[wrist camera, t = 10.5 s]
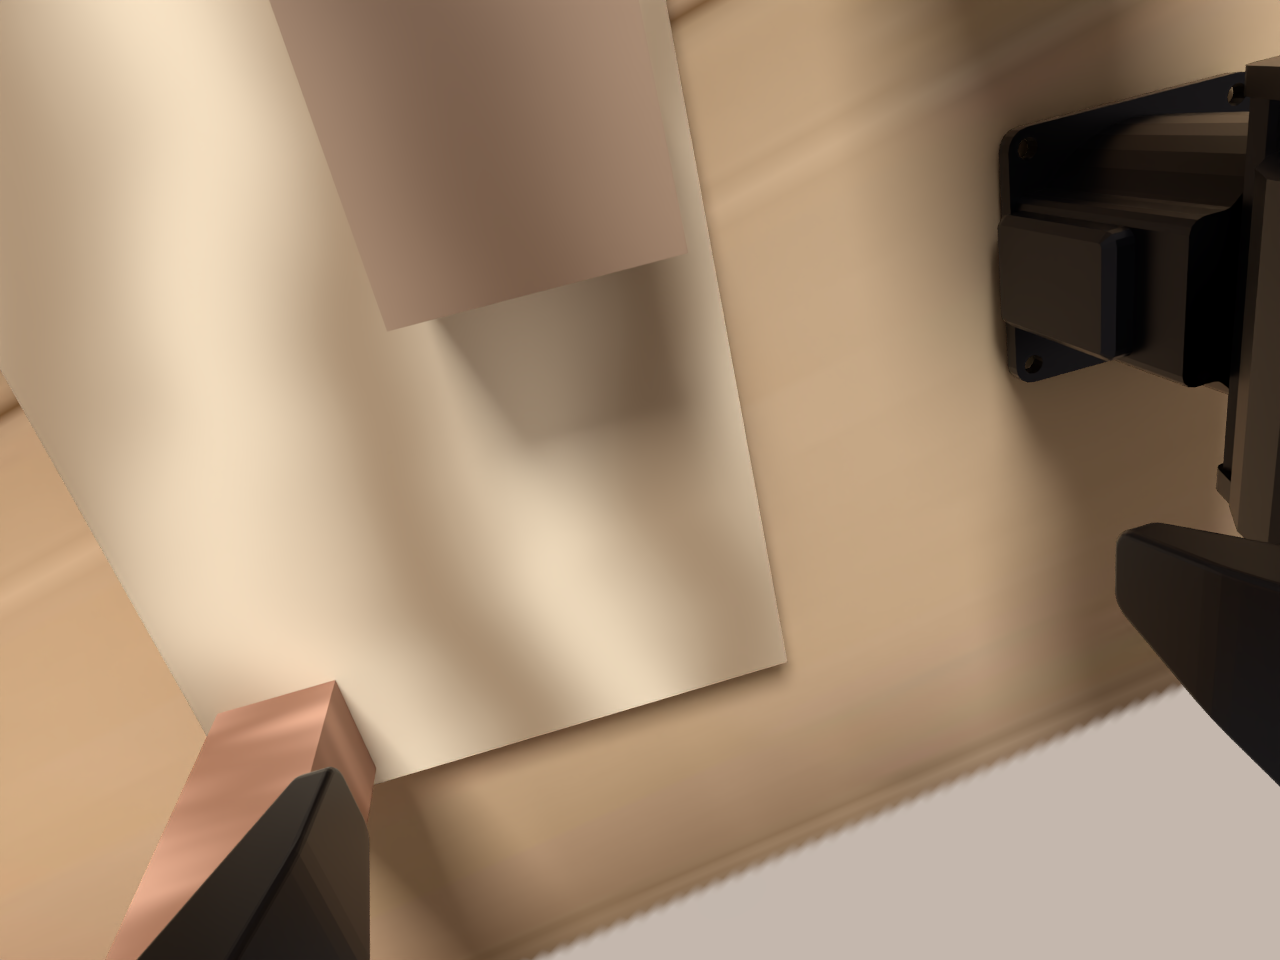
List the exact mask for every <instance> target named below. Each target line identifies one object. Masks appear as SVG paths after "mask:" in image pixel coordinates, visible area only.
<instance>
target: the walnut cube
mask: <svg viewBox="0 0 1280 960" xmlns="http://www.w3.org/2000/svg"><path fill="white" fill-rule="evenodd" d="M269 1H270V4H271V7H272V10H273V12H274V15H275V18H276V21H277V24H278V26H279V29H280V32H281V35H282V38H283V40H284V43H285V46H286V49H287V52H288V54H289V57H290V60H291V63H292V66H293V69H294V71H295V74H296V77H297V80H298V83H299V85H300V88H301V91H302V94H303V97H304V99H305V102H306V105H307V108H308V111H309V113H310V116H311V119H312V122H313V125H314V127H315V130H316V133H317V136H318V139H319V142H320V144H321V147H322V150H323V153H324V156H325V158H326V161H327V164H328V167H329V170H330V172H331V175H332V178H333V181H334V184H335V186H336V189H337V192H338V195H339V198H340V200H341V203H342V206H343V209H344V212H345V215H346V217H347V220H348V223H349V226H350V229H351V231H352V234H353V237H354V240H355V243H356V245H357V248H358V251H359V254H360V257H361V259H362V262H363V265H364V268H365V271H366V273H367V276H368V279H369V282H370V285H371V288H372V290H373V293H374V296H375V299H376V302H377V304H378V307H379V310H380V313H381V316H382V318H383V321H384V324H385V327H386V330H387V332H388V331H391V330H395V329H399V328H403V327H407V326H411V325H414V324H418V323H422V322H426V321H430V320H434V319H437V318H441V317H445V316H449V315H453V314H457V313H460V312H464V311H468V310H472V309H476V308H480V307H483V306H487V305H491V304H495V303H499V302H503V301H506V300H510V299H514V298H518V297H522V296H526V295H530V294H533V293H537V292H541V291H545V290H549V289H553V288H556V287H560V286H564V285H568V284H572V283H576V282H579V281H583V280H587V279H591V278H595V277H599V276H602V275H606V274H610V273H614V272H618V271H622V270H625V269H629V268H633V267H637V266H641V265H645V264H648V263H652V262H656V261H660V260H664V259H668V258H671V257H675V256H679V255H683V254H687V253H688V249H687V244H686V239H685V234H684V229H683V224H682V218H681V213H680V208H679V203H678V198H677V193H676V188H675V183H674V178H673V172H672V167H671V162H670V157H669V152H668V147H667V142H666V137H665V131H664V126H663V121H662V116H661V111H660V106H659V101H658V96H657V91H656V85H655V80H654V75H653V70H652V65H651V60H650V55H649V50H648V45H647V39H646V34H645V29H644V24H643V19H642V14H641V9H640V4H639V0H269Z"/></svg>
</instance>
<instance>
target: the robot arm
mask: <svg viewBox="0 0 1280 960" xmlns="http://www.w3.org/2000/svg"><path fill="white" fill-rule="evenodd" d="M1231 87H1233V96H1232V99H1231V100H1230V101H1229V103H1228V98H1227V96H1228V92H1229V90H1230V89H1231ZM1023 139H1025V140H1027V144H1028V148H1027V152H1026V153H1025V155H1024V156H1023V157H1022V158H1020V157H1019V154H1018V147H1019V144H1020V143H1021V141H1022V140H1023ZM999 165H1000V189H1001V213H1002V220H1001V222H1000V224H999V225H998V249H999V272H1000V294H1001V316H1002V319H1003V320H1005V321H1006V333H1007V356H1008V368H1009V372H1010V373H1011V374H1012V375H1013V376H1014V377H1016V378H1018V379H1021V380H1023V381H1026V382H1035V381H1039V380H1042V379H1046V378H1050V377H1053V376H1057V375H1060V374H1064V373H1068V372H1071V371H1075V370H1078V369H1082V368H1085V367H1089V366H1093V365H1096V364H1100V363H1103V362H1107V361H1111V360H1116V361H1118V362H1121V363H1124V364H1127V365H1129V366H1132V367H1135V368H1137V369H1140V370H1143V371H1146V372H1148V373H1151V374H1154V375H1157V376H1159V377H1162V378H1165V379H1167V380H1170V381H1173V382H1176V383H1178V384H1181V385H1184V386H1187V387H1198V386H1201V385H1203V386H1206V387H1209V388H1211V389H1214V390H1217V391H1220V392H1223V393H1225V394H1228V408H1227V421H1226V435H1225V449H1224V462H1223V463H1222V464H1220V465H1219V466H1218V469H1217V483H1216V489H1217V491H1218V492H1219V493H1220V494H1221V495H1222V496H1223V498H1224V499H1225V500H1226V501H1227V502H1228V503H1229V507H1230V510H1231V514H1232V517H1233V520H1234V523H1235V526H1236V529H1237V532H1239V533H1240V534H1241V535H1242V536H1243V537H1244V538H1240V537H1235V536H1229V535H1224V534H1218V533H1213V532H1207V531H1202V530H1196V529H1191V528H1186V527H1180V526H1175V525H1169V524H1164V523H1150V524H1146V525H1143V526H1140V527H1136V528H1133V529H1130V530H1126V531H1124V532H1123V533H1121V534H1120V535H1119V537H1118V539H1117V541H1116V564H1115V595H1116V599H1117V602H1118V605H1119V607H1120V609H1121V611H1122V612H1123V614H1124V615H1125V617H1126V618H1127V619H1128V620H1129V621H1130V623H1131V624H1132V625H1133V626H1134V627H1135V629H1136V630H1137V631H1138V632H1139V633H1140V634H1141V636H1142V637H1143V638H1144V639H1145V640H1146V642H1147V643H1148V644H1149V645H1150V646H1151V648H1152V649H1153V650H1154V651H1155V652H1156V654H1157V655H1158V656H1159V657H1160V658H1161V660H1162V661H1163V662H1164V663H1165V664H1166V666H1167V667H1168V668H1169V669H1170V670H1171V672H1172V673H1173V674H1174V675H1175V676H1176V678H1177V679H1178V680H1179V681H1180V682H1181V684H1182V685H1183V686H1184V687H1185V688H1186V690H1187V691H1188V692H1189V693H1190V694H1191V695H1192V697H1193V698H1194V699H1195V700H1196V702H1197V703H1198V704H1199V705H1200V706H1201V707H1202V708H1203V709H1204V710H1205V712H1206V713H1207V714H1208V715H1209V716H1210V717H1211V718H1212V719H1213V720H1214V721H1215V722H1216V724H1217V725H1218V726H1219V727H1220V728H1221V729H1222V730H1223V731H1224V732H1225V733H1226V734H1227V735H1228V736H1229V737H1230V738H1231V739H1232V740H1233V741H1234V742H1235V743H1236V744H1237V745H1238V746H1239V747H1240V748H1242V750H1243V751H1244V752H1245V753H1246V754H1247V755H1248V756H1250V757H1251V759H1252V760H1254V762H1255V763H1257V764H1258V765H1259V766H1260V767H1261V768H1262V769H1263V770H1264V771H1265V772H1266V773H1267V774H1268V775H1269V776H1270V777H1271V778H1272V779H1273V780H1274V781H1275V782H1276V783H1277V784H1278V785H1279V786H1280V56H1276V57H1272V58H1268V59H1264V60H1260V61H1256V62H1253V63H1249V64H1247V65H1246V70H1245V72H1234V73H1224V74H1220V75H1216V76H1212V77H1208V78H1205V79H1201V80H1197V81H1193V82H1189V83H1185V84H1181V85H1177V86H1173V87H1170V88H1166V89H1162V90H1158V91H1154V92H1150V93H1146V94H1142V95H1138V96H1135V97H1131V98H1127V99H1123V100H1119V101H1115V102H1111V103H1107V104H1103V105H1100V106H1096V107H1092V108H1088V109H1084V110H1080V111H1076V112H1072V113H1068V114H1065V115H1061V116H1057V117H1053V118H1049V119H1045V120H1041V121H1037V122H1034V123H1030V124H1026V125H1022V126H1018V127H1016V128H1014V129H1012V130H1010V131H1009V132H1008V133H1007V134H1006V135H1005V136H1004V138H1003V140H1002V142H1001V144H1000V150H999ZM1031 356H1033V357H1034V360H1033V363H1032V365H1031V366H1030V367H1029V368H1027V369H1025V363H1026V361H1027V360H1028V358H1029V357H1031ZM137 960H370V861H369V834H368V829H367V825H366V822H365V820H364V817H363V815H362V813H361V811H360V809H359V807H358V805H357V803H356V801H355V799H354V797H353V795H352V793H351V791H350V789H349V787H348V785H347V783H346V781H345V779H344V777H343V775H342V774H341V772H340V771H339V770H338V769H337V768H334V767H326V768H323V769H320V770H316V771H313V772H309V773H306V774H303V775H300V776H298V777H296V778H295V779H294V780H293V781H292V782H291V783H290V784H289V785H288V786H287V787H286V789H285V790H284V791H283V792H282V793H281V794H280V795H279V797H278V798H277V799H276V800H275V801H274V802H273V803H272V805H271V806H270V807H269V808H268V809H267V810H266V812H265V813H264V814H263V815H262V816H261V817H260V818H259V820H258V821H257V822H256V823H255V824H254V825H253V826H252V828H251V829H250V830H249V831H248V832H247V833H246V834H245V836H244V837H243V838H242V839H241V840H240V841H239V842H238V844H237V845H236V846H235V847H234V848H233V849H232V851H231V852H230V853H229V854H228V855H227V856H226V857H225V859H224V860H223V861H222V862H221V863H220V864H219V865H218V867H217V868H216V869H215V870H214V871H213V872H212V873H211V875H210V876H209V877H208V878H207V879H206V880H205V881H204V883H203V884H202V885H201V886H200V887H199V888H198V890H197V891H196V892H195V893H194V894H193V895H192V896H191V898H190V899H189V900H188V901H187V902H186V903H185V904H184V906H183V907H182V908H181V909H180V910H179V911H178V912H177V914H176V915H175V916H174V917H173V918H172V919H171V921H170V922H169V923H168V924H167V925H166V926H165V927H164V929H163V930H162V931H161V932H160V933H159V934H158V935H157V937H156V938H155V939H154V940H153V941H152V942H151V943H150V945H149V946H148V947H147V948H146V949H145V950H144V951H143V953H142V954H141V955H140V956H139V957H138V958H137Z"/></svg>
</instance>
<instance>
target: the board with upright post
mask: <svg viewBox="0 0 1280 960" xmlns="http://www.w3.org/2000/svg"><path fill="white" fill-rule="evenodd" d="M639 4H640V9H641V14H642V19H643V24H644V29H645V34H646V39H647V45H648V50H649V55H650V60H651V65H652V70H653V75H654V80H655V85H656V91H657V96H658V101H659V106H660V111H661V116H662V121H663V126H664V131H665V137H666V142H667V147H668V152H669V157H670V162H671V167H672V172H673V178H674V183H675V188H676V193H677V198H678V203H679V208H680V213H681V218H682V224H683V229H684V234H685V239H686V244H687V249H688V253H687V254H683V255H679V256H675V257H671V258H668V259H664V260H660V261H656V262H652V263H648V264H645V265H641V266H637V267H633V268H629V269H625V270H622V271H618V272H614V273H610V274H606V275H602V276H599V277H595V278H591V279H587V280H583V281H579V282H576V283H572V284H568V285H564V286H560V287H556V288H553V289H549V290H545V291H541V292H537V293H533V294H530V295H526V296H522V297H518V298H514V299H510V300H506V301H503V302H499V303H495V304H491V305H487V306H483V307H480V308H476V309H472V310H468V311H464V312H460V313H457V314H453V315H449V316H445V317H441V318H437V319H434V320H430V321H426V322H422V323H418V324H414V325H411V326H407V327H403V328H399V329H395V330H391V331H388V332H387V330H386V327H385V324H384V321H383V318H382V316H381V313H380V310H379V307H378V304H377V302H376V299H375V296H374V293H373V290H372V288H371V285H370V282H369V279H368V276H367V273H366V271H365V268H364V265H363V262H362V259H361V257H360V254H359V251H358V248H357V245H356V243H355V240H354V237H353V234H352V231H351V229H350V226H349V223H348V220H347V217H346V215H345V212H344V209H343V206H342V203H341V200H340V198H339V195H338V192H337V189H336V186H335V184H334V181H333V178H332V175H331V172H330V170H329V167H328V164H327V161H326V158H325V156H324V153H323V150H322V147H321V144H320V142H319V139H318V136H317V133H316V130H315V127H314V125H313V122H312V119H311V116H310V113H309V111H308V108H307V105H306V102H305V99H304V97H303V94H302V91H301V88H300V85H299V83H298V80H297V77H296V74H295V71H294V69H293V66H292V63H291V60H290V57H289V54H288V52H287V49H286V46H285V43H284V40H283V38H282V35H281V32H280V29H279V26H278V24H277V21H276V18H275V15H274V12H273V10H272V7H271V4H270V1H269V0H0V370H1V372H2V374H3V376H4V377H5V379H6V381H7V383H8V384H9V386H10V388H11V390H12V392H13V393H14V395H15V397H16V399H17V400H18V402H19V404H20V406H21V407H22V409H23V411H24V413H25V415H26V416H27V418H28V420H29V422H30V423H31V425H32V427H33V429H34V431H35V432H36V434H37V436H38V438H39V439H40V441H41V443H42V445H43V447H44V448H45V450H46V452H47V454H48V455H49V457H50V459H51V461H52V462H53V464H54V466H55V468H56V470H57V471H58V473H59V475H60V477H61V478H62V480H63V482H64V484H65V486H66V487H67V489H68V491H69V493H70V494H71V496H72V498H73V500H74V502H75V503H76V505H77V507H78V509H79V510H80V512H81V514H82V516H83V517H84V519H85V521H86V523H87V525H88V526H89V528H90V530H91V532H92V533H93V535H94V537H95V539H96V541H97V542H98V544H99V546H100V548H101V549H102V551H103V553H104V555H105V557H106V558H107V560H108V562H109V564H110V565H111V567H112V569H113V571H114V573H115V574H116V576H117V578H118V580H119V581H120V583H121V585H122V587H123V588H124V590H125V592H126V594H127V596H128V597H129V599H130V601H131V603H132V604H133V606H134V608H135V610H136V612H137V613H138V615H139V617H140V619H141V620H142V622H143V624H144V626H145V628H146V629H147V631H148V633H149V635H150V636H151V638H152V640H153V642H154V643H155V645H156V647H157V649H158V651H159V652H160V654H161V656H162V658H163V659H164V661H165V663H166V665H167V667H168V668H169V670H170V672H171V674H172V675H173V677H174V679H175V681H176V683H177V684H178V686H179V688H180V690H181V691H182V693H183V695H184V697H185V698H186V700H187V702H188V704H189V706H190V707H191V709H192V711H193V713H194V714H195V716H196V718H197V720H198V722H199V723H200V725H201V727H202V729H203V730H204V732H205V734H206V736H207V737H206V740H205V742H204V744H203V746H202V748H201V751H200V753H199V755H198V757H197V759H196V762H195V764H194V766H193V768H192V770H191V773H190V775H189V777H188V779H187V781H186V784H185V786H184V788H183V790H182V792H181V794H180V797H179V799H178V801H177V803H176V805H175V808H174V810H173V812H172V814H171V816H170V819H169V821H168V823H167V825H166V827H165V830H164V832H163V834H162V836H161V838H160V841H159V843H158V845H157V847H156V849H155V851H154V854H153V856H152V858H151V860H150V862H149V865H148V867H147V869H146V871H145V873H144V876H143V878H142V880H141V882H140V884H139V887H138V889H137V891H136V893H135V895H134V898H133V900H132V902H131V904H130V906H129V909H128V911H127V913H126V915H125V917H124V919H123V922H122V924H121V926H120V928H119V930H118V933H117V935H116V937H115V939H114V941H113V944H112V946H111V948H110V950H109V952H108V955H107V957H106V959H105V960H137V958H138V957H139V956H140V955H141V954H142V953H143V951H144V950H145V949H146V948H147V947H148V946H149V945H150V943H151V942H152V941H153V940H154V939H155V938H156V937H157V935H158V934H159V933H160V932H161V931H162V930H163V929H164V927H165V926H166V925H167V924H168V923H169V922H170V921H171V919H172V918H173V917H174V916H175V915H176V914H177V912H178V911H179V910H180V909H181V908H182V907H183V906H184V904H185V903H186V902H187V901H188V900H189V899H190V898H191V896H192V895H193V894H194V893H195V892H196V891H197V890H198V888H199V887H200V886H201V885H202V884H203V883H204V881H205V880H206V879H207V878H208V877H209V876H210V875H211V873H212V872H213V871H214V870H215V869H216V868H217V867H218V865H219V864H220V863H221V862H222V861H223V860H224V859H225V857H226V856H227V855H228V854H229V853H230V852H231V851H232V849H233V848H234V847H235V846H236V845H237V844H238V842H239V841H240V840H241V839H242V838H243V837H244V836H245V834H246V833H247V832H248V831H249V830H250V829H251V828H252V826H253V825H254V824H255V823H256V822H257V821H258V820H259V818H260V817H261V816H262V815H263V814H264V813H265V812H266V810H267V809H268V808H269V807H270V806H271V805H272V803H273V802H274V801H275V800H276V799H277V798H278V797H279V795H280V794H281V793H282V792H283V791H284V790H285V789H286V787H287V786H288V785H289V784H290V783H291V782H292V781H293V780H294V779H295V778H296V777H298V776H300V775H303V774H306V773H309V772H313V771H316V770H320V769H323V768H326V767H334V768H337V769H338V770H339V771H340V772H341V774H342V775H343V777H344V779H345V781H346V783H347V785H348V787H349V789H350V791H351V793H352V795H353V797H354V799H355V801H356V803H357V805H358V807H359V809H360V811H361V813H362V815H363V817H364V820H365V822H366V825H367V821H368V815H369V809H370V803H371V797H372V791H373V786H374V785H375V784H378V783H382V782H385V781H388V780H392V779H395V778H399V777H402V776H405V775H409V774H412V773H415V772H419V771H422V770H425V769H429V768H432V767H436V766H439V765H442V764H446V763H449V762H452V761H456V760H459V759H463V758H466V757H469V756H473V755H476V754H479V753H483V752H486V751H489V750H493V749H496V748H500V747H503V746H506V745H510V744H513V743H516V742H520V741H523V740H527V739H530V738H533V737H537V736H540V735H543V734H547V733H550V732H553V731H557V730H560V729H564V728H567V727H570V726H574V725H577V724H580V723H584V722H587V721H590V720H594V719H597V718H601V717H604V716H607V715H611V714H614V713H617V712H621V711H624V710H628V709H631V708H634V707H638V706H641V705H644V704H648V703H651V702H654V701H658V700H661V699H665V698H668V697H671V696H675V695H678V694H681V693H685V692H688V691H692V690H695V689H698V688H702V687H705V686H708V685H712V684H715V683H718V682H722V681H725V680H729V679H732V678H735V677H739V676H742V675H745V674H749V673H752V672H756V671H759V670H762V669H766V668H769V667H772V666H776V665H779V664H782V663H786V662H787V657H786V651H785V646H784V641H783V635H782V630H781V624H780V619H779V613H778V608H777V602H776V597H775V592H774V586H773V581H772V575H771V570H770V564H769V559H768V553H767V548H766V543H765V537H764V532H763V526H762V521H761V515H760V510H759V504H758V499H757V494H756V488H755V483H754V477H753V472H752V466H751V461H750V455H749V450H748V445H747V439H746V434H745V428H744V423H743V417H742V412H741V406H740V401H739V396H738V390H737V385H736V379H735V374H734V368H733V363H732V358H731V352H730V347H729V341H728V336H727V330H726V325H725V319H724V314H723V309H722V303H721V298H720V292H719V287H718V281H717V276H716V270H715V265H714V260H713V254H712V249H711V243H710V238H709V232H708V227H707V221H706V216H705V211H704V205H703V200H702V194H701V189H700V183H699V178H698V172H697V167H696V162H695V156H694V151H693V145H692V140H691V134H690V129H689V124H688V118H687V113H686V107H685V102H684V96H683V91H682V85H681V80H680V75H679V69H678V64H677V58H676V53H675V47H674V42H673V36H672V31H671V26H670V20H669V15H668V9H667V4H666V0H639Z"/></svg>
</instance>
